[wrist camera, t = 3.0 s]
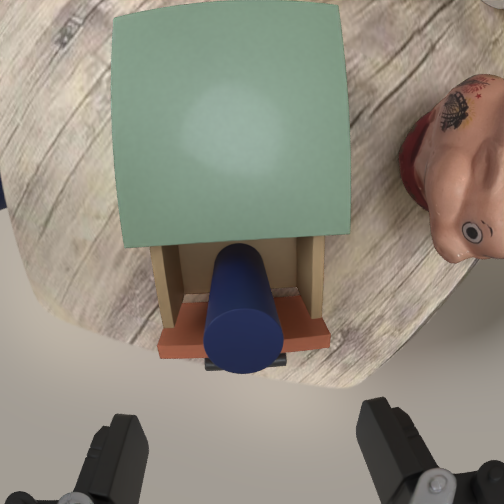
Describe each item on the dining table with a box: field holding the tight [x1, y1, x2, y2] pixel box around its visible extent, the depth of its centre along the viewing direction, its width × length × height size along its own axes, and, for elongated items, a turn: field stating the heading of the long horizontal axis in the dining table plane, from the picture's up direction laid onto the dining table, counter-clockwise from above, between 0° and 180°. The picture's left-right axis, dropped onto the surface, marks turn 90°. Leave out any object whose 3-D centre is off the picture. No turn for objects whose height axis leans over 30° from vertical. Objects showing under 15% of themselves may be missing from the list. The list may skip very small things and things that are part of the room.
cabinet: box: [111, 0, 351, 248], centre depth 20 cm, size 15×14×9 cm
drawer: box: [150, 236, 331, 371], centre depth 23 cm, size 18×12×7 cm
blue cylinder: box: [203, 243, 284, 374], centre depth 20 cm, size 4×4×11 cm
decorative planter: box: [399, 74, 504, 263], centre depth 19 cm, size 20×12×14 cm, turn 151°
